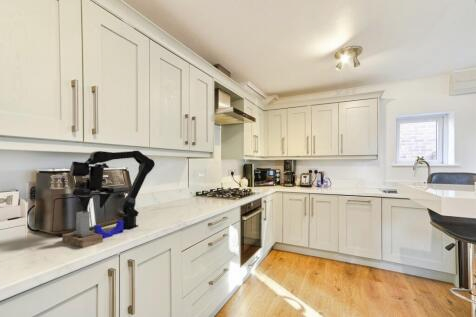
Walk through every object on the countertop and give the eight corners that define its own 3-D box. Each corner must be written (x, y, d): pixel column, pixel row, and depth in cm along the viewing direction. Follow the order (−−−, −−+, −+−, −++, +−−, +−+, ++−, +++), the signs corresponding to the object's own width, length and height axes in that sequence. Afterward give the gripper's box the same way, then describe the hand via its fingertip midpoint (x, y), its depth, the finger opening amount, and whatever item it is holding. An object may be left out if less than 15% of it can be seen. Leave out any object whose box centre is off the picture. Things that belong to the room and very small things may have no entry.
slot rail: (62, 241, 97) (62, 234, 97) (82, 236, 104) (82, 229, 104) (82, 248, 90) (83, 240, 90) (102, 242, 97) (102, 235, 97)
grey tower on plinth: (73, 241, 97) (73, 212, 97) (82, 239, 100) (83, 210, 100) (82, 244, 93) (82, 213, 94) (91, 241, 97) (92, 212, 97)
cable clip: (98, 240, 100) (99, 226, 100) (94, 238, 102) (94, 225, 102) (124, 233, 109) (125, 221, 110) (120, 231, 112) (120, 219, 112)
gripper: (97, 175, 118) (94, 205, 117) (64, 176, 100) (60, 210, 99) (115, 177, 116) (113, 206, 115) (85, 177, 98) (81, 212, 97)
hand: (93, 209), depth 106 cm, fingers open, 9 cm apart
